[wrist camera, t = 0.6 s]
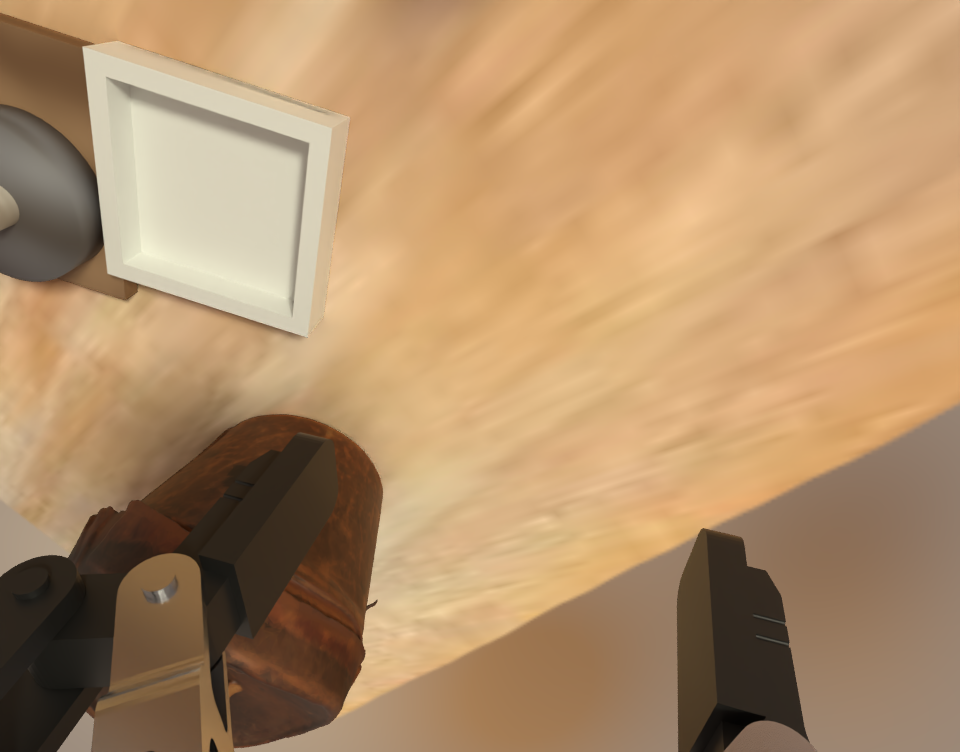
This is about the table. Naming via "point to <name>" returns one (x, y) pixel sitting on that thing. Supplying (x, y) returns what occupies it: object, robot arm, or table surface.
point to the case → (304, 602)
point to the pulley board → (61, 103)
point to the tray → (214, 186)
